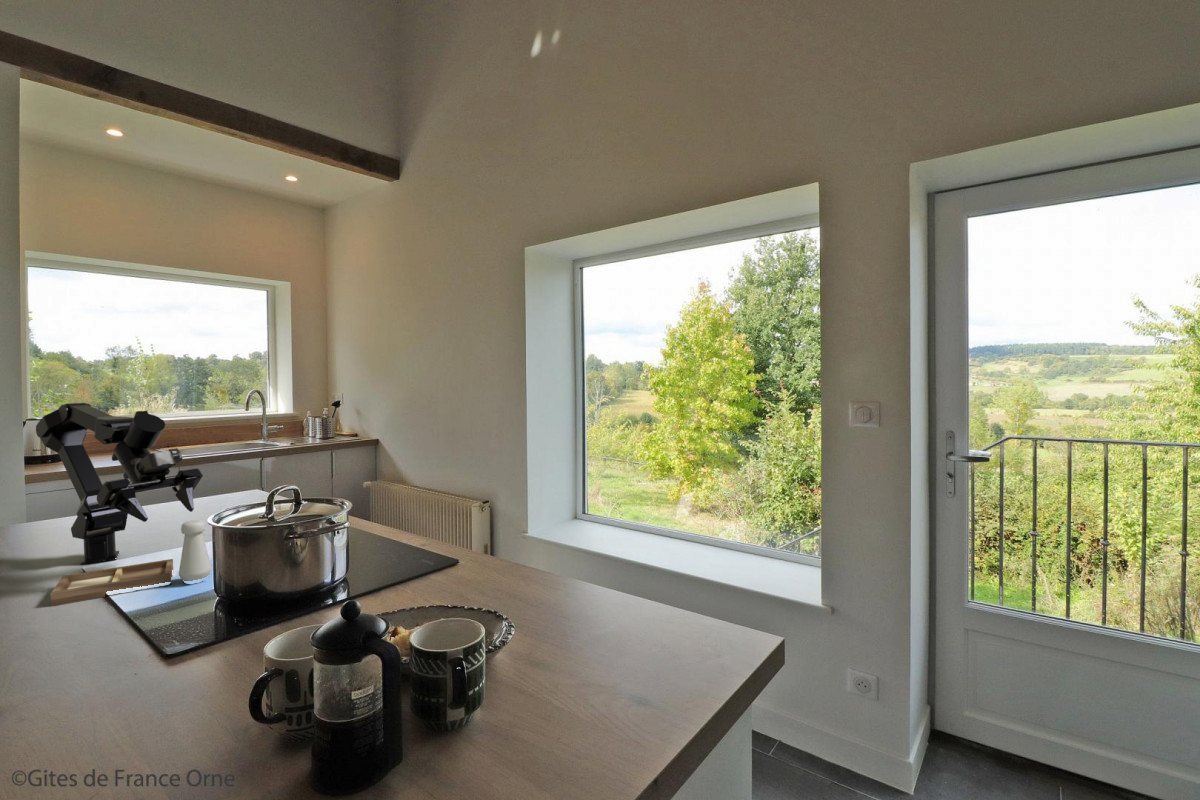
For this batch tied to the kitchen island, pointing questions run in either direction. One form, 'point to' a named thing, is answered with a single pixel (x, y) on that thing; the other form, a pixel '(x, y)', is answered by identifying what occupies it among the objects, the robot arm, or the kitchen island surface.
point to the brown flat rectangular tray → (109, 581)
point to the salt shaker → (194, 552)
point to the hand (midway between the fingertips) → (169, 515)
